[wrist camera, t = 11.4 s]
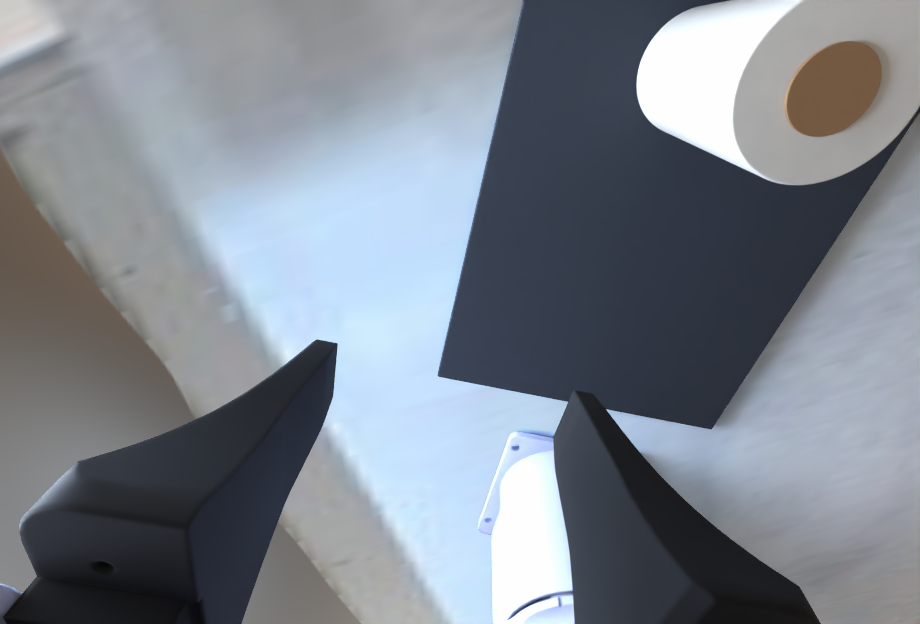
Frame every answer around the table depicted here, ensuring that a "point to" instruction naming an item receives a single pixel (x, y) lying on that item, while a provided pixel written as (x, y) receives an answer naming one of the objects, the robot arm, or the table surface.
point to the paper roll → (786, 82)
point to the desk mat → (625, 233)
